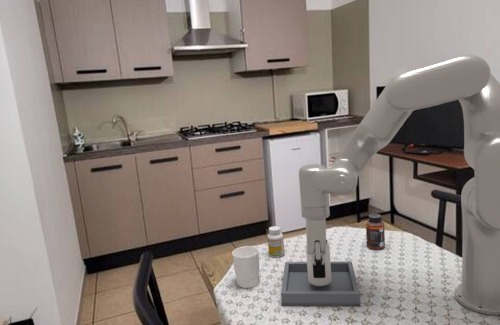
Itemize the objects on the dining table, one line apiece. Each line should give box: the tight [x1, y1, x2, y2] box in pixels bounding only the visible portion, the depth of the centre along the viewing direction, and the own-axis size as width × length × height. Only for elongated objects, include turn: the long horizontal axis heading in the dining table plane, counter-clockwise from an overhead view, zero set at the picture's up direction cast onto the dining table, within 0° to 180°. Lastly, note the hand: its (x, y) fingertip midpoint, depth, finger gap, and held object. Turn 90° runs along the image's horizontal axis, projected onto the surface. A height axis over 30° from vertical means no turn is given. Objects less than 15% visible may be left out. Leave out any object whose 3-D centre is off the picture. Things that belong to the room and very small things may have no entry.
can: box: [305, 238, 332, 286], centre depth 101 cm, size 6×6×12 cm
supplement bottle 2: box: [365, 213, 386, 251], centre depth 125 cm, size 6×6×11 cm
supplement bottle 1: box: [267, 225, 285, 258], centre depth 126 cm, size 5×5×10 cm
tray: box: [280, 260, 361, 307], centre depth 102 cm, size 20×18×4 cm
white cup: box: [231, 245, 260, 289], centre depth 108 cm, size 8×8×10 cm
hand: (319, 270), depth 102 cm, fingers closed on can, 5 cm apart
